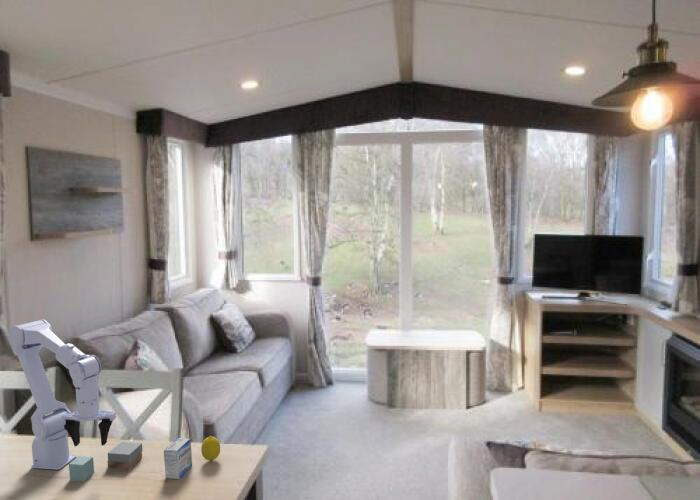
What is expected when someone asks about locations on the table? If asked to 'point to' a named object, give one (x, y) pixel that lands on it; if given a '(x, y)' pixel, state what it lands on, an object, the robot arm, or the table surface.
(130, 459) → the gray block
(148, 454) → the table surface
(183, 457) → the medicine box
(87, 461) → the teal block
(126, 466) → the walnut block
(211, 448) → the lemon
